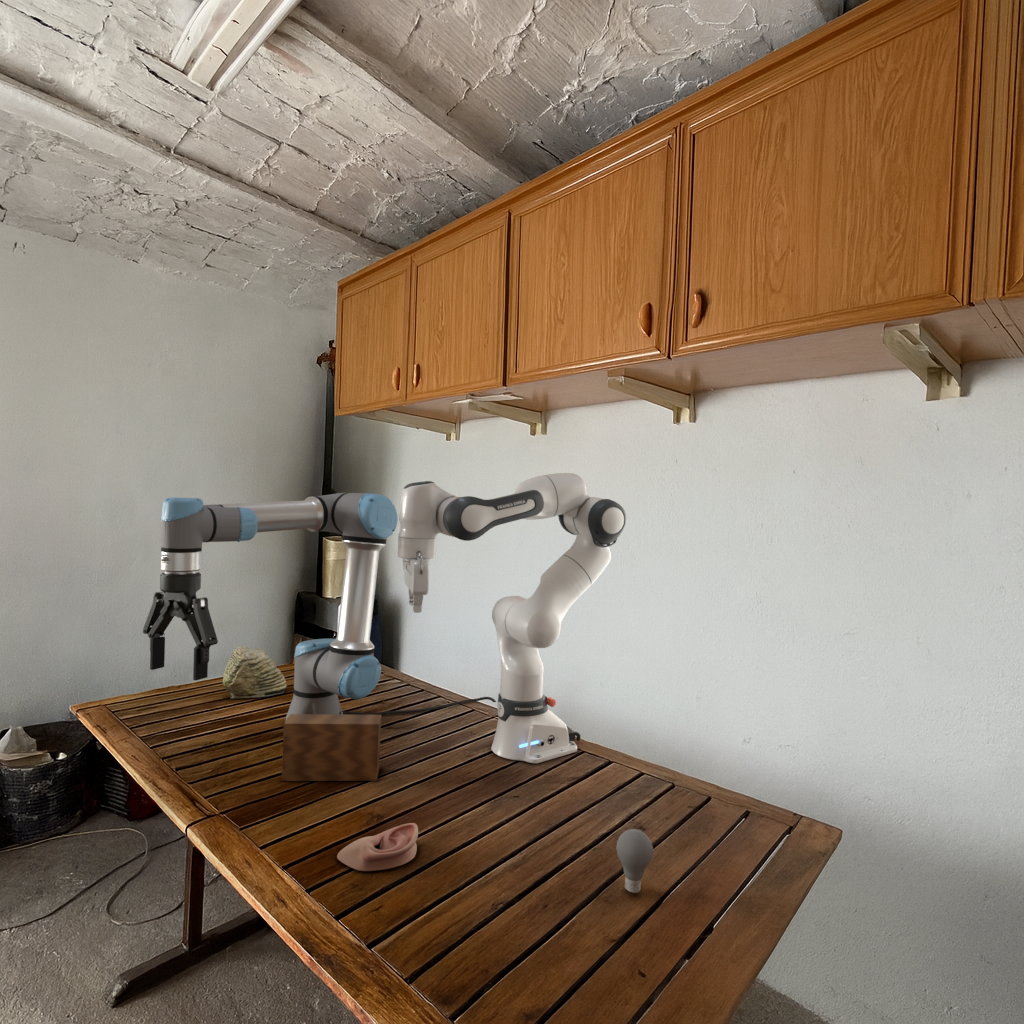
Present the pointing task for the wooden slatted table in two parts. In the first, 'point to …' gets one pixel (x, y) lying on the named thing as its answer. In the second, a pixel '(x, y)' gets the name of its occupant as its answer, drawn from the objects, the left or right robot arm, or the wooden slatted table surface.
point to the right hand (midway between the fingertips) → (414, 608)
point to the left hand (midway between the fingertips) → (178, 673)
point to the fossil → (252, 674)
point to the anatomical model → (382, 849)
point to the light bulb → (634, 857)
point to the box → (331, 747)
